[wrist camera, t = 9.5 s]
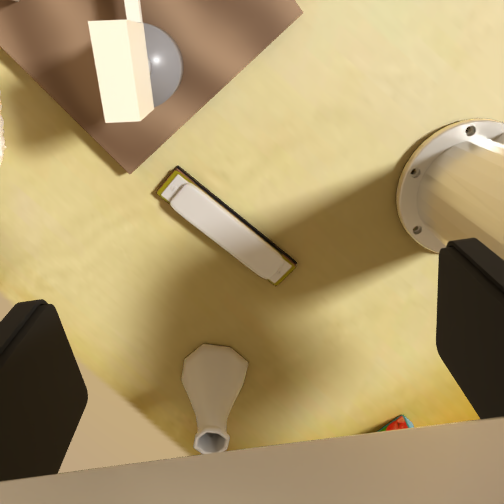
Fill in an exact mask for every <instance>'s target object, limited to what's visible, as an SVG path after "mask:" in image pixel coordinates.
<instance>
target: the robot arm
mask: <svg viewBox="0 0 504 504" xmlns="http://www.w3.org/2000/svg"><path fill="white" fill-rule="evenodd" d="M467 128H468V130H467V131H466V129H467ZM413 169H414V172H413V173H411V171H412V170H413ZM396 204H397V211H398V215H399V218H400V220H401V223H402V225H403V227H404V228H405V230H406V231H407V233H408V234H409V235H410V236H411V237H412V238H413V239H414V240H415V241H416V242H417V243H419V244H420V245H421V246H423V247H424V248H426V249H428V250H431V251H433V252H435V253H439V268H438V298H437V327H436V346H437V350H438V353H439V355H440V357H441V359H442V360H443V362H444V363H445V365H446V366H447V368H448V370H449V371H450V373H451V374H452V376H453V377H454V379H455V380H456V382H457V383H458V385H459V386H460V388H461V390H462V391H463V393H464V394H465V396H466V397H467V399H468V400H469V402H470V403H471V405H472V406H473V408H474V410H475V411H476V413H477V414H478V416H479V417H480V420H471V421H463V422H455V423H447V424H439V425H431V426H423V427H415V428H407V429H398V430H390V431H382V432H374V433H366V434H358V435H350V436H342V437H334V438H326V439H319V440H311V441H303V442H295V443H287V444H279V445H271V446H264V447H256V448H248V449H240V450H232V451H225V452H217V453H209V454H202V455H194V456H187V457H179V458H171V459H164V460H157V461H149V462H141V463H133V464H126V465H118V466H110V467H103V468H95V469H88V470H81V471H74V472H67V473H59V474H57V473H58V471H59V469H60V466H61V464H62V461H63V459H64V457H65V454H66V452H67V449H68V447H69V445H70V442H71V440H72V437H73V435H74V433H75V431H76V428H77V426H78V423H79V421H80V419H81V416H82V414H83V411H84V409H85V407H86V404H87V400H88V394H87V388H86V386H85V383H84V380H83V378H82V375H81V373H80V370H79V367H78V365H77V362H76V360H75V357H74V355H73V352H72V349H71V347H70V344H69V342H68V339H67V336H66V334H65V331H64V329H63V326H62V324H61V321H60V318H59V316H58V313H57V311H56V308H55V307H54V306H53V305H52V304H48V303H47V302H46V301H45V300H43V299H41V300H34V301H27V302H20V303H17V304H16V305H15V306H14V307H13V308H12V309H11V310H10V311H9V313H8V314H7V315H6V316H5V317H4V318H3V320H2V321H1V322H0V504H504V123H503V122H500V121H496V120H491V119H478V118H476V119H469V120H462V121H459V122H456V123H454V124H451V125H448V126H446V127H444V128H443V129H441V130H439V131H437V132H435V133H434V134H433V135H431V136H430V137H429V138H428V139H426V140H425V141H424V142H423V143H422V144H421V145H420V146H419V147H418V148H417V149H416V150H415V151H414V153H413V154H412V156H411V157H410V159H409V160H408V162H407V163H406V165H405V167H404V169H403V171H402V174H401V176H400V179H399V183H398V187H397V197H396ZM415 226H416V227H415ZM414 227H415V228H414ZM413 228H414V229H413Z"/></svg>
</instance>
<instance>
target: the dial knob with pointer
mask: <svg viewBox="0 0 504 504" xmlns="http://www.w3.org/2000/svg"><path fill="white" fill-rule="evenodd" d="M124 3H125V10H126V17H127V20H103V21H88V25H89V31H90V37H91V43H92V49H93V54H94V60H95V66H96V72H97V77H98V83H99V89H100V95H101V101H102V106H103V112H104V118H105V123H115V122H137V121H141V120H142V119H144V118H145V117H146V116H147V115H148V114H149V113H150V112H152V111H153V110H154V107H156V106H159V105H161V104H162V103H164V102H165V101H166V100H168V99H169V98H170V97H171V96H172V95H173V94H174V93H175V92H176V90H177V89H178V87H179V86H180V84H181V81H182V78H183V72H184V63H183V57H182V54H181V51H180V49H179V47H178V45H177V43H176V42H175V40H174V39H173V38H172V37H171V36H170V35H169V34H168V33H167V32H166V31H164V30H163V29H161V28H159V27H157V26H154V25H151V24H146V23H143V21H142V13H141V5H140V0H124Z"/></svg>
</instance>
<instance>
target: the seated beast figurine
mask: <svg viewBox="0 0 504 504" xmlns="http://www.w3.org/2000/svg"><path fill="white" fill-rule="evenodd" d="M0 95H1V92H0ZM0 102H1V99H0ZM1 109H2V104H1V103H0V111H1ZM3 125H4V120H3V118H2V115H1V112H0V166H1V163H2V161H3V155H4V154H3V152H4V150H5V149H6V146H5V139H4V137H3V133H4V130H3Z"/></svg>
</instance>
